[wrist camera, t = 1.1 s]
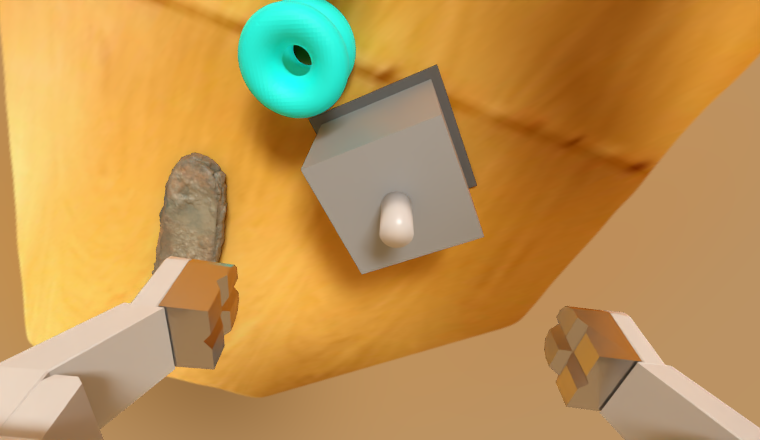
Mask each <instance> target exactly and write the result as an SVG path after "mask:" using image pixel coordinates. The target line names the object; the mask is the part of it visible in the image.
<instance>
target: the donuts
mask: <svg viewBox="0 0 760 440" xmlns="http://www.w3.org/2000/svg"><path fill="white" fill-rule="evenodd" d="M294 45H298V46H301V47H302V48H304V49H305V50H306V51H307V52H308V54H309V55H310V58H311V61H312V65H305V64H303V63H301V62H300V61H299V60H298V59H297V58H296V56H295V54H294V51H293V46H294ZM355 56H356V46H355V39H354V35H353V32H352V29H351V27H350V25H349V23H348V22H347V20H346V18H345V17H344V16H343V14H342V13H341V12H340V11H339V10H338V9H337V8H336V7H335V6H333V5H332V4H331V3H329V2H327V1H326V0H283V1H279V2H275V3H271V4H269V5H266V6H264V7H263V8H261V9H259V10H258V11H257V12H255V13H254V14H253V15H252V16H251V17H250V19H249V20H248V21H247V23H246V24H245V26H244V28H243V30H242V33H241V36H240V40H239V45H238V62H239V67H240V71H241V74H242V77H243V79H244V81H245V83H246V85H247V87H248V88H249V90H250V91H251V93H252V94H253V95H254V96H255V98H256V99H257V100H258V101H259V102H261V103H262V104H263V105H264V106H265V107H267V108H268V109H270V110H272V111H274V112H275V113H278V114H280V115H283V116H286V117H291V118H308V117H312V116H316V115H318V114H321V113H323V112H325V111H326V110H328V109H329V108H330V107H332V106H333V105H334V104H335V103H336V102H337V100H338V99H339V98H340V96H341V95H342V93H343V91H344V89H345V86H346V83H347V80H348V77H349V76H350V74H351V71H352V69H353V66H354V62H355Z"/></svg>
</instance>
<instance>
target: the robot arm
mask: <svg viewBox="0 0 760 440" xmlns="http://www.w3.org/2000/svg"><path fill="white" fill-rule="evenodd" d="M237 279H238V274H237V267H236V266H235V265H231V264H225V263H218V262H211V261H204V260H197V259H188V258H181V257H174V256H170V257H168V258H166V259H165V260H164V261H163V263H162V264H161V265H160V267H159V268H158V269H157V270H156V272H155V273H154V274H153V275H152V277H151V278H150V279H149V281H148V282H147V283H146V284H145V286H144V287H143V288H142V290H141V291H140V292H139V293H138V295H137V296H136V297H135V299H134V300H133V301H132V302H131V304H130V303H122V304H120V305H118V306H116V307H114V308H112V309H110V310H108V311H106V312H104V313H102V314H100V315H98V316H96V317H93V318H91V319H89V320H87V321H85V322H83V323H81V324H79V325H77V326H75V327H73V328H71V329H69V330H67V331H65V332H63V333H60V334H58V335H56V336H54V337H52V338H50V339H48V340H46V341H44V342H42V343H40V344H38V345H36V346H34V347H32V348H30V349H28V350H25V351H23V352H22V353H19V354H17V355H15V356H13V357H11V358H9V359H7V360H5V361H3V362H1V363H0V440H103V437H102V434H101V432H100V429H101V428H102V427H104V426H105V425H106V424H107V423H108V422H110V421H111V420H112V419H113V418H115V417H116V416H117V415H118V414H119V413H121V412H122V411H123V410H125V409H126V408H127V407H128V406H130V405H131V404H132V403H133V402H134V401H136V400H137V399H138V398H139V397H141V396H142V395H143V394H144V393H146V392H147V391H148V390H149V389H150V388H152V387H153V386H154V385H155V384H157V383H158V382H159V381H160V380H162V379H163V378H164V377H165V376H167V375H168V374H169V373H170V372H172V371H173V370H174V369H175V366H176V367H189V368H202V369H215V366H216V364H217V362H218V359H219V357H220V355H221V353H222V350H223V348H224V346H225V345H224V335H225V334H227V333H228V332H230V331H231V330H232V327H233V325H234V322H235V319H236V315H237V311H238V303H239V292H238V291H237V290H236V289H235V288H234V285H235V283H236V281H237ZM557 320H558V323H559V324H558V325H556V326H555V327H553V328H551V329H550V330H549V332H548V334H547V336H546V338H545V348H544V350H545V356H546V359H547V362H548V365H549V367H551V369H552V370H554V371H555V372H556V373H557V374H558V377H557V380H556V384H557V386H558V389H559V391H560V393H561V395H562V398H563V400H564V403H565V405H566V407H573V408H581V409H589V410H596V411H601V412H600V414H601V415H602V416H603V417H604V418H605V419H606V420H607V421H608V422H609V423H610V424H611V425H612V427H613V428H615V430H616V431H617V432H618V433H619V434H620V435H621V436H622V437H623V438H624V439H625V440H760V428H759V427H757V426H756V425H754V424H753V423H752V422H750V421H749V420H747V419H746V418H745V417H743V416H742V415H740V414H739V413H737V412H736V411H734V410H733V409H732V408H730V407H729V406H727V405H726V404H725V403H723V402H722V401H720V400H719V399H718V398H716V397H715V396H713V395H712V394H710V393H709V392H708V391H706V390H705V389H703V388H702V387H701V386H699V385H698V384H696V383H695V382H693V381H692V380H691V379H689V378H688V377H686V376H685V375H684V374H682V373H680V372H679V371H678V370H676V369H675V368H673V367H672V366H668V365H665V364H664V363H663V361H662V360H661V359H660V357H659V356H658V355H657V353H656V352H655V350H654V349H653V348H652V346H651V345H650V344H649V342H648V341H647V340H646V338H645V337H644V336H643V334H642V333H641V331H640V330H639V328H638V327H637V326H636V324H635V323H634V321H633V320H632V319H631V317H630V316H629V315H627V314H626V313H624V312H616V311H607V310H604V311H602V310H594V309H586V308H577V307H569V306H565V307H564V308H562V309H561V310H560V312H559V314H558V315H557Z"/></svg>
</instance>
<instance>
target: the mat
mask: <svg viewBox="0 0 760 440" xmlns="http://www.w3.org/2000/svg"><path fill="white" fill-rule="evenodd" d="M429 79H431V80H432V83H433V86H434V89H435V92H436V95H437V98H438V101H439V104H440V106H441V109H442V112H443V115H444V118H445V121H446V124H447V127H448V130H449V132H450V135H451V138H452V141H453V144H454V147H455V150H456V153H457V156H458V159H459V161H460V164H461V167H462V170H463V173H464V176H465V179H466V182H467V185H468V188H471V187H474V186H477V184H476V181H475V178H474V175H473V172H472V169H471V166H470V163H469V160H468V157H467V154H466V151H465V148H464V145H463V142H462V139H461V136H460V132H459V129H458V126H457V123H456V120H455V117H454V114H453V111H452V108H451V105H450V102H449V99H448V96H447V93H446V90H445V87H444V84H443V81H442V78H441V75H440V72H439V69H438V66H437V65H434V66H432V67H430V68H427V69H425V70H423V71H420V72H418V73H416V74H413V75H411V76H409V77H406V78H404V79H402V80H399V81H397V82H395V83H392V84H390V85H387V86H385V87H383V88H380V89H378V90H376V91H373V92H371V93H369V94H366V95H364V96H362V97H359V98H357V99H355V100H352V101H350V102H348V103H345V104H343V105H341V106H338V107H336V108H334V109H331V110H329V111H326V112H324V113H322V114H319V115H317V116H315V117H312V118H310V119H309V121H310V123H311V125H312V126H313V128H314V130H315V132H316V134H317V133H318V131H319V129H320V127H321V125H322V124H324V123H327V122H329V121H331V120H334V119H336V118H339V117H341V116H343V115H346V114H348V113H351V112H353V111H355V110H358V109H360V108H362V107H365V106H367V105H370V104H372V103H374V102H377V101H379V100H382V99H384V98H386V97H389V96H391V95H394V94H396V93H398V92H401V91H403V90H405V89H408V88H410V87H413V86H415V85H417V84H420V83H422V82H425V81H427V80H429Z"/></svg>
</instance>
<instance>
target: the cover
mask: <svg viewBox="0 0 760 440" xmlns="http://www.w3.org/2000/svg"><path fill="white" fill-rule="evenodd" d="M301 171H302V173H303V175H304V176H305V178H306V180H307V181H308V183H309V185H310V187H311V188H312V190H313V192H314V193H315V195H316V197H317V199H318V200H319V202H320V204H321V205H322V207H323V209H324V211H325V212H326V214H327V216H328V217H329V219H330V221H331V223H332V224H333V226H334V228H335V229H336V231H337V233H338V235H339V236H340V238H341V240H342V241H343V243H344V245H345V247H346V248H347V250H348V252H349V253H350V255H351V257H352V259H353V260H354V262H355V264H356V265H357V267H358V269H359V270H360V272H361V274H365V273H368V272H371V271H375V270H378V269H381V268H384V267H388V266H391V265H394V264H397V263H401V262H404V261H407V260H410V259H414V258H417V257H420V256H423V255H427V254H430V253H433V252H437V251H440V250H443V249H446V248H450V247H453V246H456V245H459V244H463V243H466V242H469V241H472V240H476V239H479V238H482V237H484V235H483V232H482V229H481V225H480V222H479V219H478V216H477V213H476V210H475V207H474V204H473V200H472V197H471V194H470V191H469V188H468V185H467V182H466V179H465V176H464V173H463V170H462V167H461V164H460V161H459V159H458V156H457V153H456V150H455V147H454V144H453V141H452V138H451V135H450V132H449V130H448V127H447V124H446V121H445V118H444V115H443V112H442V109H441V106H440V104H439V101H438V98H437V95H436V92H435V89H434V86H433V83H432V80H431V79H429V80H427V81H425V82H422V83H420V84H417V85H415V86H413V87H410V88H408V89H405V90H403V91H401V92H398V93H396V94H394V95H391V96H389V97H386V98H384V99H382V100H379V101H377V102H374V103H372V104H370V105H367V106H365V107H362V108H360V109H358V110H355V111H353V112H351V113H348V114H346V115H343V116H341V117H339V118H336V119H334V120H331V121H329V122H327V123H324V124H322V125H321V127H320V129H319V131H318V133H317V135H316V138H315V140H314V142H313V144H312V146H311V148H310V151H309V153H308V155H307V157H306V159H305V162H304V164H303V166H302V168H301Z"/></svg>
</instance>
